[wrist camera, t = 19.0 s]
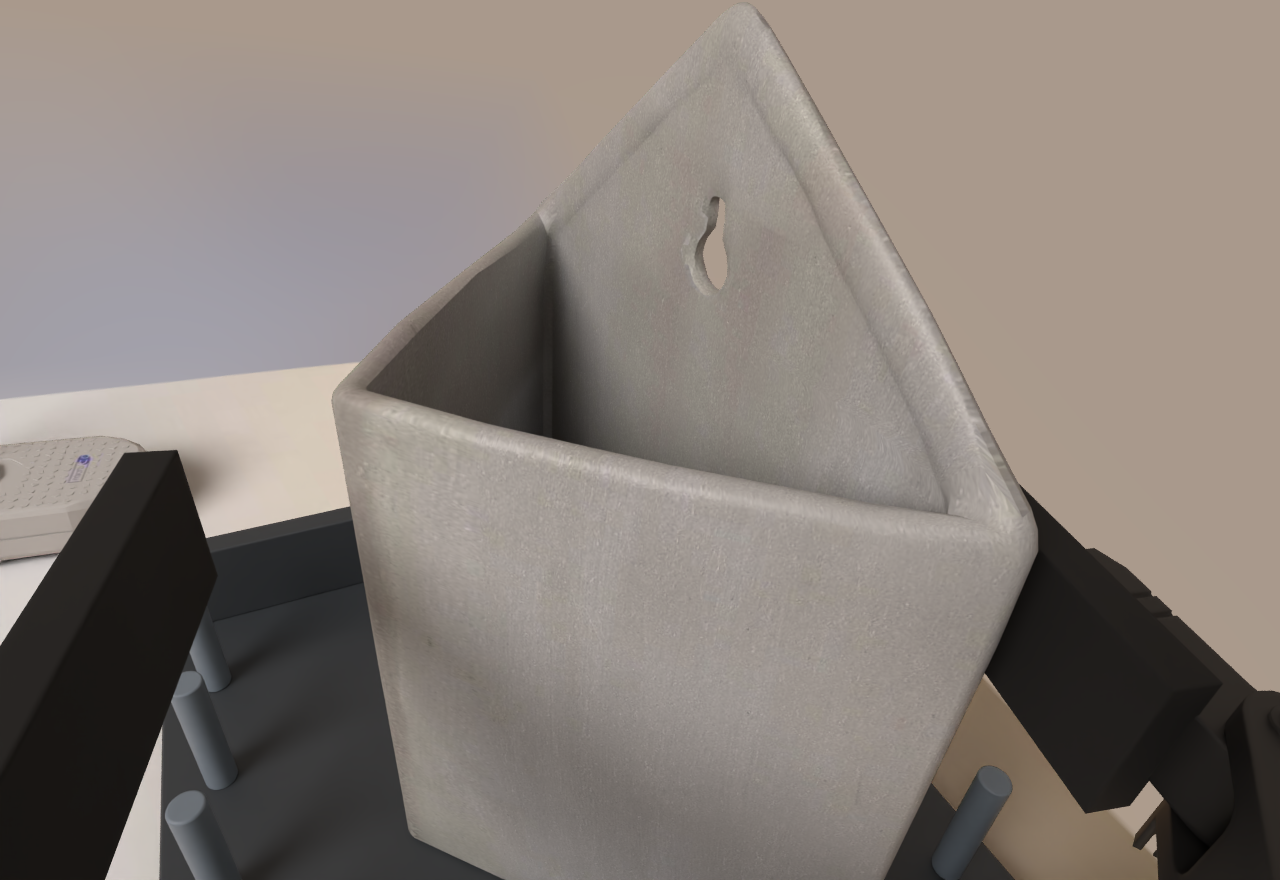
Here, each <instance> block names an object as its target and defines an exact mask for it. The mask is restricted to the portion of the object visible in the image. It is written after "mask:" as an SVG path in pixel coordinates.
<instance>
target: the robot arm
mask: <svg viewBox="0 0 1280 880" xmlns="http://www.w3.org/2000/svg"><path fill="white" fill-rule="evenodd" d="M1019 486H1020V488H1021V489H1022V491H1023V493H1024V495H1025V497H1026V499H1027V501H1028V503H1029V505H1030V507H1031V509H1032V512H1033V515H1034V519H1035V522H1036V525H1037V529H1038V553H1037V555H1036V558H1035V560H1034V562H1033V565H1032V567H1031V569H1030V571H1029V574H1028V576H1027V578H1026V581H1025V583H1024V585H1023V588H1022V590H1021V592H1020V595H1019V597H1018V599H1017V602H1016V604H1015V606H1014V609H1013V611H1012V613H1011V616H1010V618H1009V620H1008V623H1007V625H1006V627H1005V630H1004V632H1003V634H1002V637H1001V639H1000V641H999V644H998V646H997V648H996V650H995V652H994V654H993V656H992V659H991V661H990V663H989V665H988V667H987V669H986V671H985V674H986V675H987V677H988V678H989V679H990V681H991V682H992V683H993V685H994V686H995V688H996V689H997V691H998V692H999V693H1000V695H1001V696H1002V698H1003V699H1004V700H1005V702H1006V703H1007V705H1008V706H1009V707H1010V709H1011V710H1012V711H1013V713H1014V714H1015V716H1016V717H1017V718H1018V720H1019V721H1020V723H1021V724H1022V725H1023V727H1024V728H1025V730H1026V731H1027V732H1028V734H1029V735H1030V737H1031V738H1032V739H1033V741H1034V742H1035V744H1036V745H1037V746H1038V748H1039V749H1040V751H1041V752H1042V753H1043V755H1044V756H1045V758H1046V759H1047V760H1048V762H1049V763H1050V765H1051V766H1052V767H1053V769H1054V770H1055V772H1056V773H1057V774H1058V776H1059V777H1060V779H1061V780H1062V781H1063V783H1064V784H1065V786H1066V787H1067V788H1068V790H1069V791H1070V793H1071V794H1072V795H1073V797H1074V798H1075V800H1076V801H1077V802H1078V804H1079V805H1080V807H1081V808H1082V809H1083V811H1084V812H1085V814H1087V813H1092V812H1098V811H1103V810H1109V809H1114V808H1120V807H1126V806H1130V805H1131V803H1132V802H1133V801H1134V800H1135V798H1136V797H1137V796H1138V794H1139V793H1140V792H1141V791H1142V789H1143V788H1144V787H1145V785H1146V784H1147V783H1148V781H1150V782H1151V783H1152V784H1153V786H1154V787H1155V788H1156V789H1157V791H1158V792H1159V793H1160V794H1161V795H1162V797H1163V798H1164V800H1163V801H1162V802H1161V803H1160V805H1159V806H1158V807H1157V808H1156V810H1155V811H1154V812H1153V813H1152V815H1151V816H1150V817H1149V819H1148V820H1147V821H1146V822H1145V823H1144V825H1143V826H1142V827H1141V828H1140V830H1139V831H1138V832H1137V833H1136V835H1135V838H1134V842H1133V847H1135V848H1137V849H1139V850H1141V849H1142V848H1143V847H1144V846H1145V844H1146V843H1147V842H1148V841H1149V840H1150V838H1151V837H1152V836H1153V835H1154V834H1156V838H1157V850H1156V851H1155V852H1154V853H1153V856H1155V857H1157V859H1158V880H1280V693H1279V692H1275V691H1257V690H1256V689H1254V688H1253V687H1252V686H1251V685H1250V684H1249V683H1248V682H1247V681H1246V680H1244V679H1243V678H1242V677H1241V676H1240V675H1239V674H1238V673H1237V672H1236V671H1235V670H1234V669H1233V668H1232V667H1231V666H1230V665H1228V664H1227V663H1226V662H1225V661H1224V660H1223V659H1222V658H1221V657H1220V656H1219V655H1218V654H1217V653H1216V652H1215V651H1214V650H1213V649H1211V647H1209V645H1207V644H1206V643H1205V642H1204V641H1203V640H1202V639H1201V638H1200V637H1199V636H1198V635H1197V634H1196V633H1195V632H1194V631H1193V630H1191V628H1189V627H1188V626H1187V625H1186V624H1185V623H1184V622H1183V621H1182V620H1181V619H1180V618H1179V617H1178V616H1173V615H1172V613H1171V612H1172V610H1170V609H1169V608H1168V607H1167V606H1166V605H1165V604H1164V603H1163V602H1162V601H1161V600H1160V599H1159V598H1158V597H1157V596H1154V597H1153V596H1152V595H1151V591H1150V590H1149V589H1148V588H1147V587H1146V586H1145V585H1144V584H1143V583H1142V582H1141V581H1140V580H1139V579H1137V577H1136V576H1134V575H1133V574H1132V573H1131V572H1130V571H1129V570H1128V569H1127V568H1126V567H1124V566H1123V565H1121V564H1119V563H1118V562H1116V561H1114V560H1113V559H1111V558H1110V557H1108V556H1106V555H1105V554H1103V553H1101V552H1100V551H1098V550H1096V549H1095V548H1092V549H1085V548H1084V547H1083V546H1082V545H1081V544H1080V543H1079V542H1078V541H1077V540H1076V539H1075V538H1074V537H1073V536H1072V535H1071V534H1070V533H1068V531H1067V530H1066V529H1065V528H1063V526H1061V524H1059V523H1058V522H1057V521H1056V520H1055V519H1054V518H1053V517H1052V516H1051V515H1050V514H1049V513H1048V512H1047V511H1046V510H1045V509H1044V508H1043V507H1042V506H1041V505H1040V504H1039V503H1038V502H1037V501H1036V500H1035V499H1034V498H1033V497H1032V496H1031V495H1030V494H1029V493H1028V492H1026V490H1025V489H1024V488H1023V487H1022V486H1021V485H1020V484H1019ZM217 577H218V574H217V571H216V568H215V565H214V562H213V559H212V556H211V553H210V549H209V546H208V543H207V540H206V537H205V534H204V531H203V528H202V525H201V522H200V519H199V516H198V512H197V509H196V506H195V503H194V500H193V497H192V494H191V491H190V488H189V485H188V482H187V479H186V475H185V472H184V469H183V466H182V463H181V460H180V457H179V454H178V451H177V450H170V451H150V452H129V453H124V454H123V455H122V457H121V458H120V460H119V462H118V463H117V465H116V466H115V468H114V469H113V471H112V472H111V474H110V476H109V477H108V479H107V480H106V482H105V483H104V485H103V486H102V488H101V490H100V491H99V493H98V494H97V496H96V497H95V499H94V501H93V502H92V504H91V505H90V507H89V508H88V510H87V511H86V513H85V515H84V516H83V518H82V519H81V521H80V522H79V524H78V525H77V527H76V529H75V530H74V532H73V533H72V535H71V536H70V538H69V540H68V541H67V543H66V544H65V546H64V547H63V549H62V550H61V552H60V554H59V555H58V557H57V558H56V560H55V561H54V563H53V564H52V566H51V568H50V569H49V571H48V572H47V574H46V575H45V577H44V579H43V580H42V582H41V583H40V585H39V586H38V588H37V589H36V591H35V593H34V594H33V596H32V597H31V599H30V600H29V602H28V603H27V605H26V607H25V608H24V610H23V611H22V613H21V614H20V616H19V618H18V619H17V621H16V622H15V624H14V625H13V627H12V628H11V630H10V632H9V633H8V635H7V636H6V638H5V639H4V641H3V642H2V644H1V646H0V880H105V878H106V875H107V873H108V870H109V867H110V865H111V862H112V859H113V857H114V854H115V851H116V848H117V846H118V843H119V840H120V838H121V835H122V832H123V830H124V827H125V824H126V822H127V819H128V816H129V814H130V811H131V808H132V805H133V803H134V800H135V797H136V795H137V792H138V789H139V787H140V784H141V781H142V779H143V776H144V773H145V771H146V768H147V765H148V762H149V760H150V757H151V754H152V752H153V749H154V746H155V744H156V741H157V738H158V736H159V733H160V730H161V727H162V725H163V722H164V719H165V717H166V714H167V711H168V709H169V706H170V703H171V701H172V698H173V695H174V693H175V690H176V687H177V684H178V682H179V679H180V676H181V674H182V671H183V668H184V666H185V663H186V660H187V658H188V655H189V652H190V650H191V647H192V644H193V641H194V639H195V636H196V633H197V631H198V628H199V625H200V623H201V620H202V617H203V615H204V612H205V609H206V606H207V604H208V601H209V598H210V596H211V593H212V590H213V588H214V585H215V582H216V580H217Z"/></svg>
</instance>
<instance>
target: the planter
mask: <svg viewBox="0 0 1280 880" xmlns="http://www.w3.org/2000/svg"><path fill="white" fill-rule="evenodd" d="M719 198H721V199H723V200H724V202H725V205H726V207H725V224H724V232H723V242H724V246H725V250H726V254H727V263H728V269H727V278H726V280H725V283H724V285H723V287H722V288H721V289H720V290H719V289H717V288H716V287H715V286H714V285H713V284H712V282H711V281H710V279H709V278H708V276H707V272H706V268H705V264H704V260H703V249H704V245H705V242H706V240H707V237H708V236H709V235H710V234H711V232H712V231H713V230H714V228H715V226H716V221H717V217H718V208H719ZM332 407H333V413H334V418H335V424H336V429H337V435H338V440H339V446H340V451H341V457H342V462H343V468H344V473H345V479H346V484H347V490H348V496H349V501H350V507H351V513H352V518H353V524H354V530H355V535H356V541H357V547H358V552H359V558H360V564H361V569H362V575H363V581H364V586H365V592H366V598H367V603H368V609H369V614H370V620H371V626H372V631H373V637H374V643H375V648H376V654H377V660H378V665H379V671H380V676H381V682H382V687H383V692H384V698H385V703H386V709H387V714H388V719H389V725H390V730H391V736H392V741H393V747H394V752H395V757H396V763H397V768H398V774H399V779H400V784H401V790H402V795H403V801H404V807H405V812H406V818H407V824H408V829H409V831H410V833H411V835H412V836H413V837H414V838H416V839H418V840H420V841H422V842H424V843H427V844H429V845H431V846H433V847H435V848H437V849H440V850H442V851H444V852H446V853H448V854H450V855H452V856H455V857H457V858H459V859H461V860H463V861H465V862H467V863H470V864H472V865H474V866H476V867H478V868H480V869H482V870H485V871H487V872H489V873H491V874H493V875H495V876H498V877H500V878H502V879H505V880H884V879H885V877H886V874H887V872H888V870H889V868H890V866H891V864H892V862H893V860H894V858H895V856H896V854H897V852H898V850H899V848H900V846H901V844H902V842H903V840H904V837H905V835H906V833H907V831H908V829H909V827H910V825H911V823H912V821H913V819H914V817H915V815H916V813H917V811H918V809H919V807H920V805H921V803H922V800H923V798H924V796H925V794H926V792H927V790H928V788H929V786H930V784H931V782H932V780H933V778H934V776H935V774H936V772H937V770H938V768H939V766H940V763H941V761H942V759H943V757H944V755H945V753H946V751H947V749H948V747H949V745H950V743H951V741H952V739H953V737H954V735H955V733H956V731H957V728H958V726H959V724H960V722H961V720H962V718H963V716H964V714H965V712H966V710H967V708H968V706H969V704H970V702H971V700H972V698H973V696H974V693H975V691H976V689H977V687H978V685H979V683H980V681H981V679H982V677H983V675H984V673H985V671H986V669H987V667H988V665H989V663H990V661H991V659H992V656H993V654H994V652H995V650H996V648H997V646H998V644H999V641H1000V639H1001V637H1002V634H1003V632H1004V630H1005V627H1006V625H1007V623H1008V620H1009V618H1010V616H1011V613H1012V611H1013V609H1014V606H1015V604H1016V602H1017V599H1018V597H1019V595H1020V592H1021V590H1022V588H1023V585H1024V583H1025V581H1026V578H1027V576H1028V574H1029V571H1030V569H1031V567H1032V565H1033V562H1034V560H1035V558H1036V555H1037V553H1038V529H1037V525H1036V522H1035V519H1034V515H1033V512H1032V509H1031V507H1030V505H1029V503H1028V501H1027V499H1026V497H1025V495H1024V493H1023V491H1022V489H1021V488H1020V486H1019V484H1018V482H1017V480H1016V478H1015V476H1014V474H1013V473H1012V471H1011V469H1010V467H1009V465H1008V463H1007V461H1006V459H1005V457H1004V456H1003V454H1002V452H1001V450H1000V448H999V446H998V444H997V442H996V440H995V438H994V436H993V435H992V433H991V431H990V429H989V427H988V425H987V423H986V421H985V419H984V417H983V415H982V412H981V411H980V408H979V406H978V404H977V403H976V401H975V398H974V396H973V394H972V392H971V390H970V388H969V386H968V384H967V382H966V380H965V378H964V376H963V374H962V372H961V370H960V368H959V366H958V364H957V362H956V360H955V358H954V356H953V355H952V352H951V350H950V348H949V346H948V344H947V342H946V340H945V338H944V336H943V334H942V332H941V330H940V329H939V327H938V325H937V323H936V321H935V319H934V317H933V315H932V313H931V311H930V309H929V307H928V305H927V304H926V302H925V300H924V299H923V296H922V295H921V293H920V291H919V289H918V287H917V286H916V284H915V282H914V280H913V278H912V277H911V275H910V273H909V271H908V269H907V268H906V266H905V264H904V262H903V260H902V259H901V257H900V255H899V253H898V251H897V250H896V248H895V246H894V244H893V243H892V241H891V239H890V237H889V235H888V234H887V232H886V230H885V228H884V226H883V225H882V223H881V221H880V219H879V217H878V216H877V214H876V212H875V210H874V208H873V207H872V205H871V203H870V201H869V200H868V198H867V196H866V194H865V192H864V191H863V189H862V187H861V185H860V183H859V182H858V180H857V178H856V176H855V175H854V173H853V171H852V169H851V168H850V166H849V164H848V162H847V160H846V159H845V157H844V155H843V153H842V151H841V150H840V148H839V146H838V144H837V142H836V140H835V139H834V137H833V135H832V133H831V131H830V130H829V128H828V126H827V124H826V122H825V121H824V119H823V117H822V115H821V114H820V112H819V110H818V108H817V107H816V105H815V103H814V101H813V99H812V98H811V96H810V94H809V92H808V91H807V89H806V87H805V85H804V84H803V82H802V80H801V78H800V77H799V75H798V73H797V71H796V70H795V68H794V66H793V65H792V63H791V61H790V59H789V57H788V56H787V54H786V53H785V51H784V49H783V47H782V46H781V44H780V42H779V40H778V39H777V37H776V35H775V34H774V32H773V30H772V29H771V27H770V26H769V24H768V23H767V21H766V20H765V19H764V17H763V16H762V15H761V14H760V13H759V11H758V10H757V9H756V8H755V7H754V6H753V5H751V4H750V3H746V2H742V3H737V4H736V5H734V6H732V7H731V8H729V9H728V10H727V11H725V12H724V13H723V14H722V15H721V16H720V17H719V18H718V19H716V21H715V22H714V23H713V24H712V25H711V26H710V27H709V28H708V29H707V30H706V31H705V32H704V33H703V34H702V35H701V36H700V37H699V38H698V40H697V41H696V42H695V43H694V44H693V45H692V46H691V47H690V48H689V49H688V50H687V51H686V52H685V53H684V54H683V55H682V56H681V57H680V58H679V59H678V60H677V61H676V62H675V63H674V64H673V66H671V68H670V69H669V70H668V71H667V72H666V73H665V74H664V75H663V76H662V77H661V78H660V79H659V80H658V82H656V84H655V85H654V86H653V87H652V88H651V89H650V90H649V91H648V92H647V93H646V95H644V97H642V99H641V100H640V101H639V102H638V103H637V104H636V105H635V106H634V107H633V108H632V109H631V110H630V111H629V112H628V113H627V114H626V115H625V116H624V117H623V118H622V119H621V120H620V122H619V123H618V124H617V125H616V126H615V127H614V128H613V129H612V130H611V131H610V132H609V133H608V134H607V135H606V136H605V137H604V138H603V140H602V141H601V142H600V143H599V144H598V145H597V146H596V147H595V148H594V149H593V150H592V152H591V153H590V154H589V155H588V156H587V157H586V158H585V160H584V161H583V162H582V163H581V164H580V165H579V166H578V167H577V168H576V169H575V170H574V171H573V173H571V175H570V176H569V177H568V178H567V179H566V180H565V181H564V182H563V183H562V184H561V185H560V186H559V187H557V188H556V189H555V190H554V191H553V192H552V193H551V194H550V195H549V196H548V197H547V198H546V199H545V200H544V201H543V202H542V203H541V205H540V206H539V207H538V209H537V210H536V211H535V212H534V213H533V214H532V215H531V216H530V217H529V218H528V219H527V220H526V221H525V222H524V223H523V224H522V225H521V226H520V227H519V228H518V229H517V230H516V231H515V232H513V233H512V234H511V235H509V236H508V237H507V238H505V239H504V240H503V241H502V242H500V243H499V244H498V245H496V246H495V247H494V248H493V249H491V250H490V251H489V252H487V253H486V254H485V255H483V256H482V257H481V258H480V259H478V260H477V261H476V262H474V263H473V264H472V265H471V266H469V267H468V268H467V269H465V270H464V271H463V272H462V273H460V274H459V275H458V276H456V277H455V278H454V279H453V280H451V281H450V282H449V283H448V284H446V285H445V286H444V287H443V288H441V289H440V290H439V291H438V292H436V293H435V294H434V295H433V296H431V297H430V298H429V299H428V300H427V301H425V302H424V303H423V304H421V305H420V306H419V307H418V308H416V309H415V310H414V311H413V312H411V313H410V314H409V315H408V316H406V317H405V318H404V319H403V320H401V321H400V322H399V323H398V324H397V325H396V326H395V327H394V328H393V329H392V330H391V331H390V332H389V333H388V334H387V335H386V336H385V337H384V338H383V339H382V341H381V342H380V343H379V344H378V345H377V346H376V347H375V348H374V349H373V350H372V351H371V352H370V353H369V354H368V355H367V356H366V357H365V358H364V359H363V360H362V361H361V362H360V363H359V364H358V365H357V366H356V367H355V368H354V369H353V370H352V371H351V372H350V374H349V375H348V376H347V377H346V378H345V379H344V380H343V381H342V382H341V383H340V384H339V385H338V386H337V388H336V389H335V390H334V392H333V396H332Z"/></svg>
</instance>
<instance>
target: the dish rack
mask: <svg viewBox="0 0 1280 880" xmlns="http://www.w3.org/2000/svg"><path fill="white" fill-rule="evenodd" d="M206 540H207V543H208V546H209V549H210V553H211V556H212V559H213V562H214V565H215V568H216V571H217V574H218V577H217V580H216V582H215V585H214V588H213V590H212V593H211V596H210V598H209V601H208V604H207V606H206V609H205V612H204V615H203V617H202V620H201V623H200V625H199V628H198V631H197V633H196V636H195V639H194V641H193V644H192V647H191V650H190V652H189V655H188V658H187V660H186V663H185V666H184V668H183V671H182V674H181V676H180V679H179V682H178V684H177V687H176V690H175V693H174V695H173V698H172V701H171V703H170V706H169V709H168V711H167V714H166V717H165V719H164V722H163V725H162V775H161V826H160V877H159V880H505V879H502V878H500V877H498V876H495V875H493V874H491V873H489V872H487V871H485V870H482V869H480V868H478V867H476V866H474V865H472V864H470V863H467V862H465V861H463V860H461V859H459V858H457V857H455V856H452V855H450V854H448V853H446V852H444V851H442V850H440V849H437V848H435V847H433V846H431V845H429V844H427V843H424V842H422V841H420V840H418V839H416V838H414V837H413V836H412V835H411V833H410V831H409V829H408V824H407V818H406V812H405V807H404V801H403V795H402V790H401V784H400V779H399V774H398V768H397V763H396V757H395V752H394V747H393V741H392V736H391V730H390V725H389V719H388V714H387V709H386V703H385V698H384V692H383V687H382V682H381V676H380V671H379V665H378V660H377V654H376V648H375V643H374V637H373V631H372V626H371V620H370V614H369V609H368V603H367V598H366V592H365V586H364V581H363V575H362V569H361V564H360V558H359V552H358V547H357V541H356V535H355V530H354V524H353V518H352V513H351V507H346V508H341V509H336V510H332V511H327V512H323V513H318V514H314V515H309V516H305V517H300V518H296V519H291V520H287V521H282V522H277V523H273V524H268V525H264V526H259V527H255V528H250V529H246V530H241V531H237V532H232V533H228V534H223V535H218V536H214V537H209V538H206ZM1011 792H1012V783H1011V780H1010V778H1009V777H1008V776H1007V774H1006V773H1005V772H1003V771H1002V770H1000V769H999V768H997V767H994V766H984V767H981V768H980V769H979V770H978V772H977V774H976V776H975V778H974V780H973V781H972V783H971V785H970V787H969V789H968V791H967V793H966V794H965V796H964V798H963V800H962V802H961V804H960V805H959V807H958V809H957V811H955V810H954V809H953V808H952V806H951V805H950V804H949V803H948V802H947V801H946V800H945V798H944V797H943V796H942V795H941V794H940V793H939V791H938V790H937V789H936V788H935V787H934V786H933V784H932V783H931V784H930V786H929V788H928V790H927V792H926V794H925V796H924V798H923V800H922V803H921V805H920V807H919V809H918V811H917V813H916V815H915V817H914V819H913V821H912V823H911V825H910V827H909V829H908V831H907V833H906V835H905V837H904V840H903V842H902V844H901V846H900V848H899V850H898V852H897V854H896V856H895V858H894V860H893V862H892V864H891V866H890V868H889V870H888V872H887V874H886V877H885V879H884V880H1015V879H1014V878H1013V877H1012V876H1011V875H1010V874H1009V873H1008V871H1007V870H1006V869H1005V868H1004V867H1003V866H1002V864H1001V863H1000V862H999V861H998V860H997V859H996V857H995V856H994V855H993V854H992V853H991V852H990V851H989V849H988V848H987V847H986V846H985V845H984V844H983V842H982V841H983V839H984V837H985V836H986V834H987V832H988V831H989V829H990V827H991V826H992V824H993V822H994V821H995V819H996V817H997V816H998V814H999V812H1000V811H1001V809H1002V807H1003V806H1004V804H1005V802H1006V801H1007V799H1008V797H1009V795H1010V794H1011Z"/></svg>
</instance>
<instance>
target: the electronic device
mask: <svg viewBox="0 0 1280 880" xmlns="http://www.w3.org/2000/svg"><path fill="white" fill-rule="evenodd" d="M129 452H146V451H145V450H144V449H143V448H142V447H141V446H140V445H139V444H137V443H134V442H131V441H129V440H126V439H122V438H113V437H105V436H96V437H85V438H74V439H63V440H52V441H41V442H30V443H19V444H8V445H0V561H4V560H8V559H15V558H23V557H30V556H38V555H45V554H53V553H60V552H61V550H62V549H63V547H64V546H65V544H66V543H67V541H68V540H69V538H70V536H71V535H72V533H73V532H74V530H75V529H76V527H77V525H78V524H79V522H80V521H81V519H82V518H83V516H84V515H85V513H86V511H87V510H88V508H89V507H90V505H91V504H92V502H93V501H94V499H95V497H96V496H97V494H98V493H99V491H100V490H101V488H102V486H103V485H104V483H105V482H106V480H107V479H108V477H109V476H110V474H111V472H112V471H113V469H114V468H115V466H116V465H117V463H118V462H119V460H120V458H121V457H122V455H123V454H124V453H129Z"/></svg>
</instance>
